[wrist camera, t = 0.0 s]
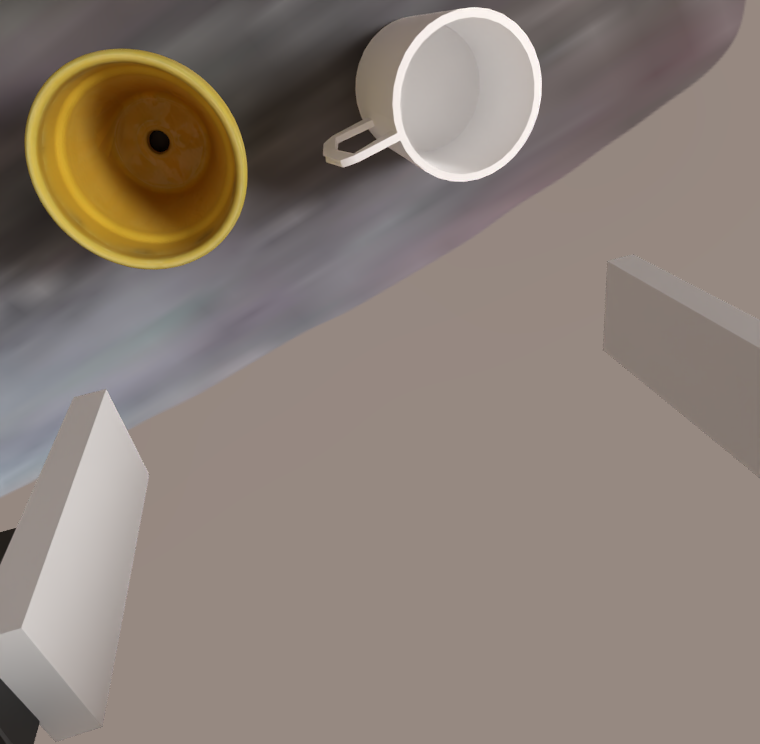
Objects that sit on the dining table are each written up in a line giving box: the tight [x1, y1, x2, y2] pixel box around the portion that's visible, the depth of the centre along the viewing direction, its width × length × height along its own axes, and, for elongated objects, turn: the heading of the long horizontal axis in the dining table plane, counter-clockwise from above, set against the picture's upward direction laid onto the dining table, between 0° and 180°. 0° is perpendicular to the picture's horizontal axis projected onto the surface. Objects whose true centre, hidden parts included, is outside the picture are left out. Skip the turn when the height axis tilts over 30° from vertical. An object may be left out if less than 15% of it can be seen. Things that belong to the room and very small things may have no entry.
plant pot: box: [25, 49, 247, 269], centre depth 32 cm, size 10×10×10 cm
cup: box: [323, 7, 542, 182], centre depth 34 cm, size 8×12×10 cm
